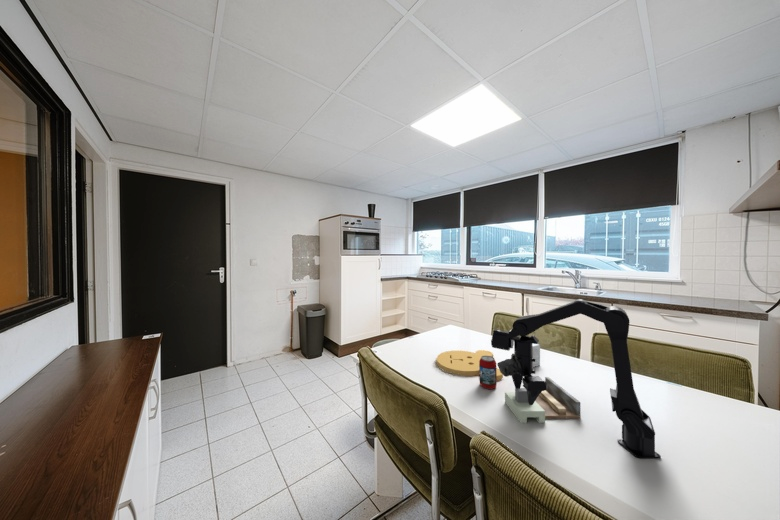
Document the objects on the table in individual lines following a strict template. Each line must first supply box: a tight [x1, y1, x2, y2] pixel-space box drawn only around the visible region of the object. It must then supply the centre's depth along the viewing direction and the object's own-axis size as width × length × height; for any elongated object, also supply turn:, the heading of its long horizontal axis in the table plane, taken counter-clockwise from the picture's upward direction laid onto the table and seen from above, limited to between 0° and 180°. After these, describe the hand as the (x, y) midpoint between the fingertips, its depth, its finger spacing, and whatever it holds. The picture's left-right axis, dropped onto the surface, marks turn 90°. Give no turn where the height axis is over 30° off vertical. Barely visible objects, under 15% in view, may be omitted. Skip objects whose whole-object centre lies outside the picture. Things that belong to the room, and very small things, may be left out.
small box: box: [532, 343, 541, 368], centre depth 130 cm, size 8×6×10 cm
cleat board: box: [535, 376, 581, 420], centre depth 95 cm, size 18×12×6 cm, turn 179°
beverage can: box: [479, 356, 497, 390], centre depth 109 cm, size 7×7×12 cm
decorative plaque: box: [436, 349, 504, 381], centre depth 131 cm, size 31×3×30 cm
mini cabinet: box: [504, 387, 546, 424], centre depth 91 cm, size 12×8×8 cm, turn 179°
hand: (523, 397), depth 91 cm, fingers open, 9 cm apart
